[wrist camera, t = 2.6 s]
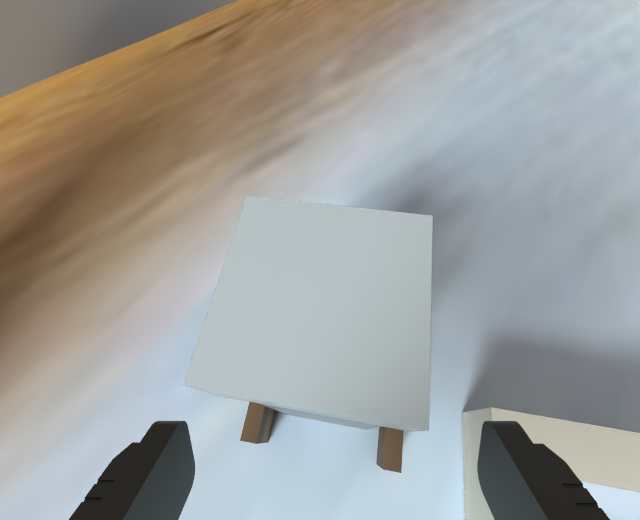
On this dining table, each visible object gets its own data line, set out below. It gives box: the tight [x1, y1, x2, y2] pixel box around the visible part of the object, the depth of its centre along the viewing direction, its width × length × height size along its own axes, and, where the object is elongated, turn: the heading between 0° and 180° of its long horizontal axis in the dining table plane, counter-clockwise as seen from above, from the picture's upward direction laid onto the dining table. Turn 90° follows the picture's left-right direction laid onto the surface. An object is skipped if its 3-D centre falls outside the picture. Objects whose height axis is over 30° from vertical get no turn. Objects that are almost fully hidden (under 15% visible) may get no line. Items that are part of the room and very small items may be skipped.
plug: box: [183, 196, 433, 431], centre depth 14 cm, size 5×5×14 cm
